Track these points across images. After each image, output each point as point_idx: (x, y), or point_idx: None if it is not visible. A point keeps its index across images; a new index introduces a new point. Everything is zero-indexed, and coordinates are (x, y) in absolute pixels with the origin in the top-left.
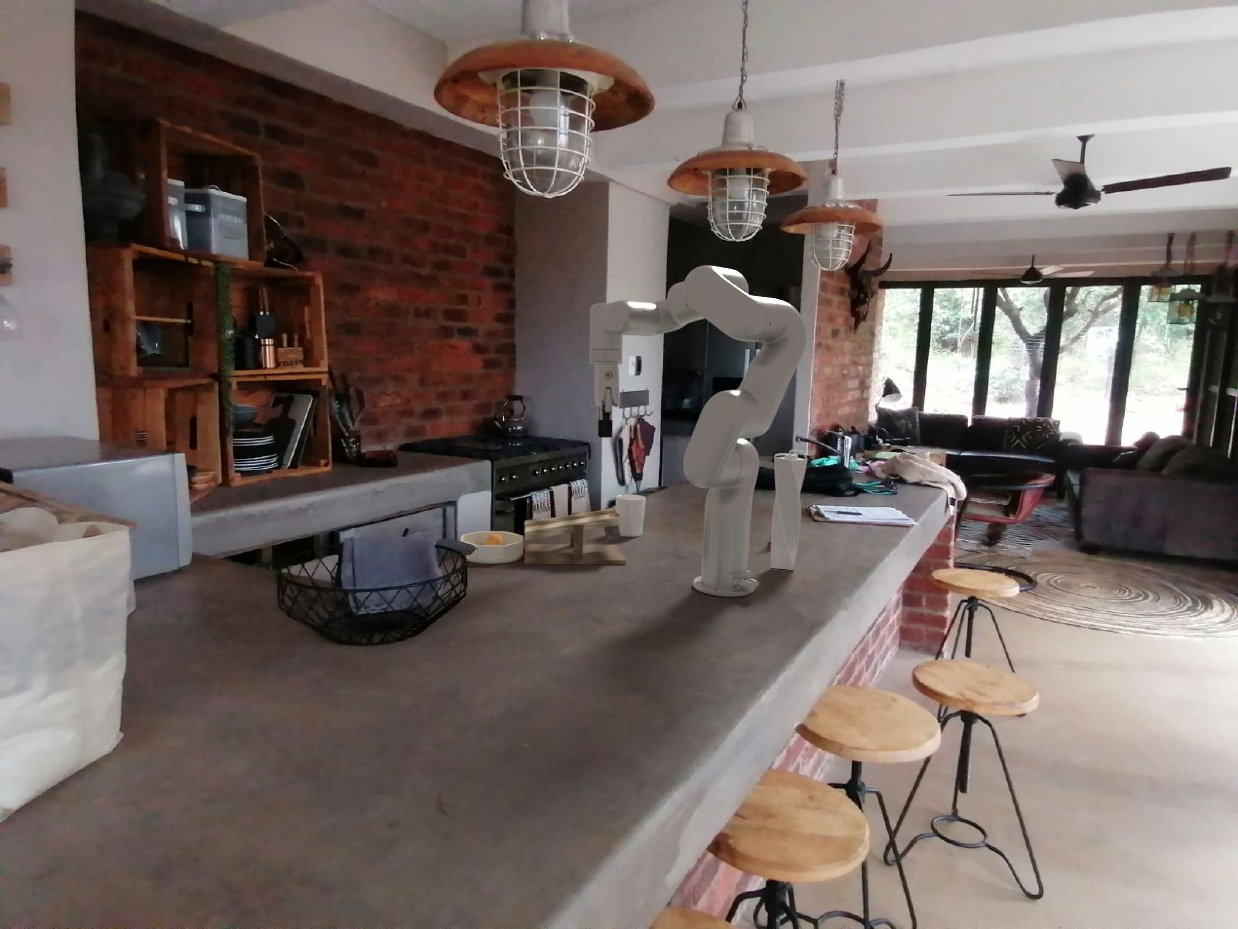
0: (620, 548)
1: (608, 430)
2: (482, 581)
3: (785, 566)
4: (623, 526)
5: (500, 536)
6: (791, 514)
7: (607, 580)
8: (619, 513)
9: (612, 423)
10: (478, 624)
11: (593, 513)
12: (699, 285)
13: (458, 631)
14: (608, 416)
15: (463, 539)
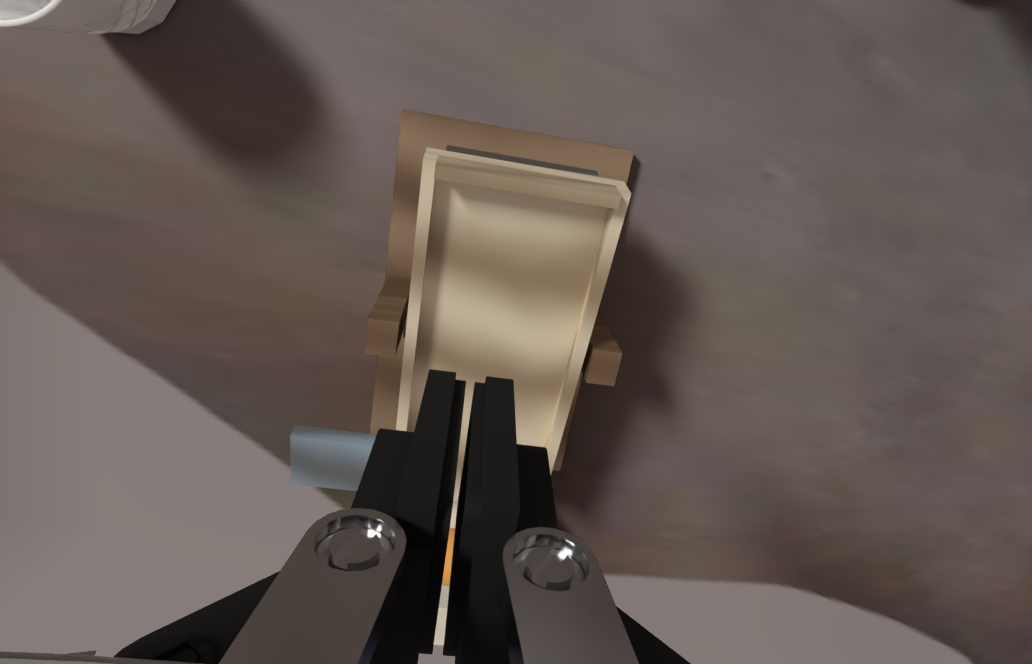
0: (460, 121)
1: (549, 473)
2: (697, 568)
3: None
4: (147, 10)
5: (450, 554)
6: None
7: (785, 264)
8: (621, 196)
9: (516, 474)
10: (975, 589)
11: (424, 268)
12: None
13: (993, 619)
14: (639, 651)
15: (441, 635)
